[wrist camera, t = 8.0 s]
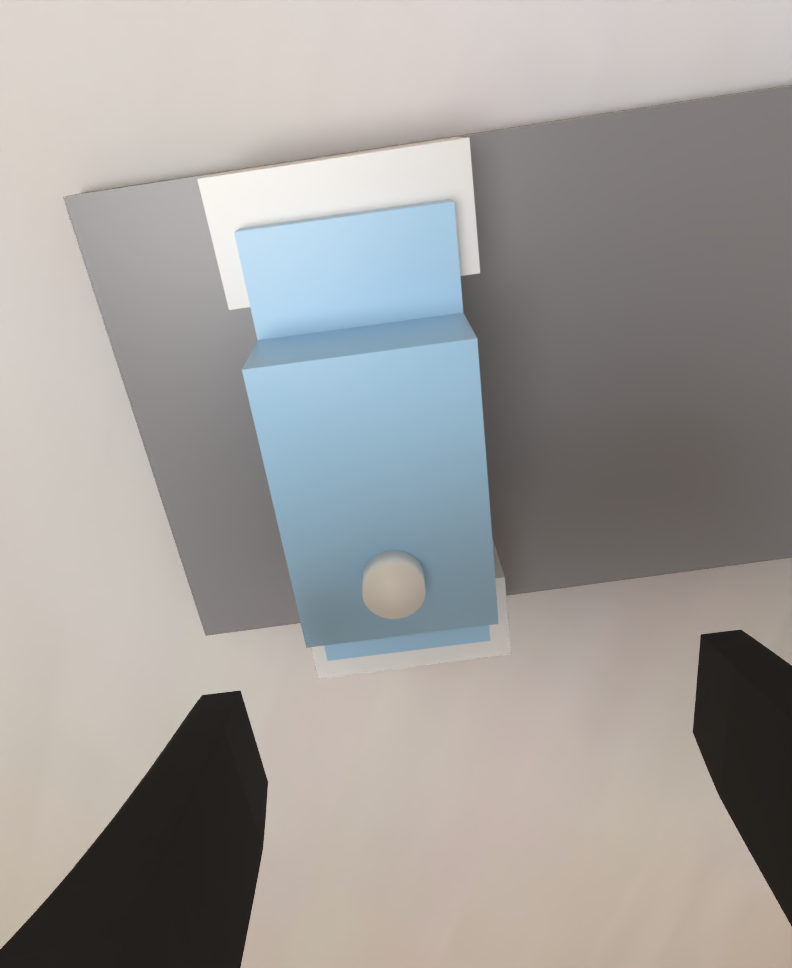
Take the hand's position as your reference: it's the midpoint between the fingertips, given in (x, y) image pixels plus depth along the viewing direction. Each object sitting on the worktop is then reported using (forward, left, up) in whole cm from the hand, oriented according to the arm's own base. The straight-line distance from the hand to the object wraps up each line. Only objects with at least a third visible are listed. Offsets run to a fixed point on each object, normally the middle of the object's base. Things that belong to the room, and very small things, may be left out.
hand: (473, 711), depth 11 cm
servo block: (+1, -2, -8) cm, 9 cm away
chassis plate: (-3, -2, -9) cm, 10 cm away
